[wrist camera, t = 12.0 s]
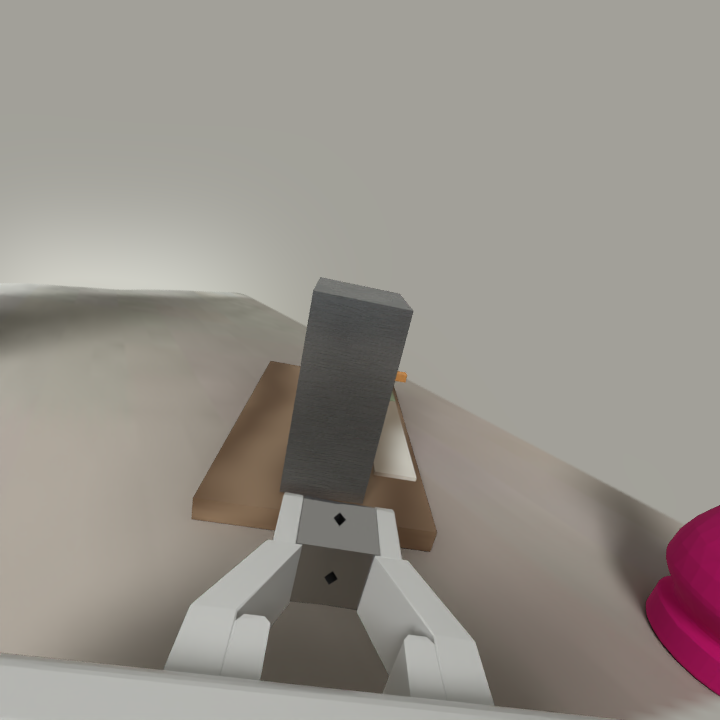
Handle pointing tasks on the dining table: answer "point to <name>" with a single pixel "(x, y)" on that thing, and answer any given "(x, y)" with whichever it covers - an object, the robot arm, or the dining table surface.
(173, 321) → the dining table surface
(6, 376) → the dining table surface
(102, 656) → the dining table surface
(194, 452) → the dining table surface
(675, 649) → the pepper mill
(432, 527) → the gauge bench
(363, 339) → the brushed steel block
